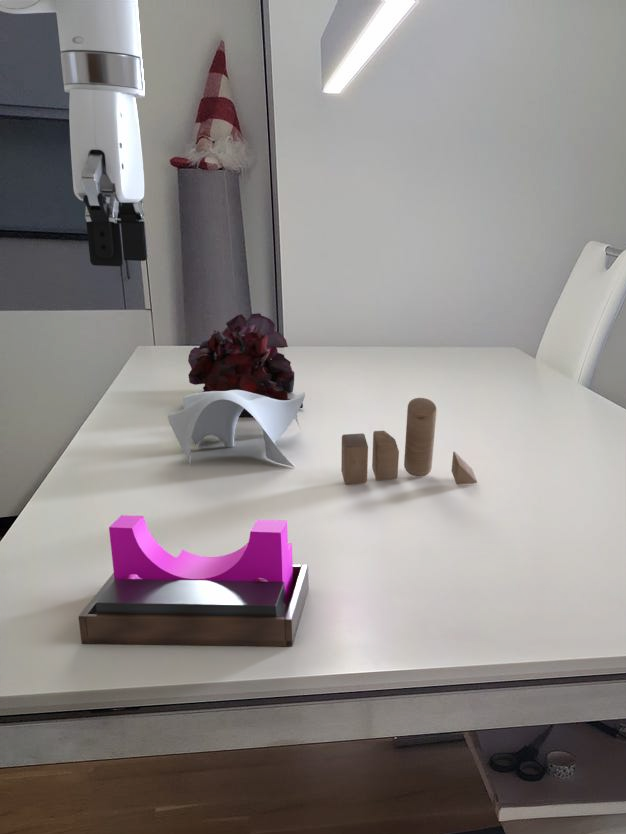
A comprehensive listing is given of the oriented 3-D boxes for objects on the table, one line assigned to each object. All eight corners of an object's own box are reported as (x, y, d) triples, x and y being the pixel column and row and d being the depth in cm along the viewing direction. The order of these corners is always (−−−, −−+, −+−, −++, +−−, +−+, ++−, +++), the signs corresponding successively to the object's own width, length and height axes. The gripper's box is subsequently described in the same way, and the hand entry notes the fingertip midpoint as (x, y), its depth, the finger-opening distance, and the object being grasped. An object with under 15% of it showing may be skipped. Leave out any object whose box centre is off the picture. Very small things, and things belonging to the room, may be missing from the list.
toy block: (293, 587, 100) (290, 512, 97) (283, 611, 94) (280, 532, 91) (136, 583, 99) (129, 507, 96) (117, 606, 94) (108, 527, 91)
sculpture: (188, 429, 166) (183, 367, 163) (307, 430, 169) (305, 369, 165) (164, 466, 144) (158, 395, 140) (302, 467, 146) (300, 397, 142)
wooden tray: (81, 643, 87) (76, 605, 86) (125, 585, 100) (121, 551, 99) (292, 646, 88) (291, 608, 87) (308, 588, 101) (307, 555, 100)
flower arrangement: (306, 418, 178) (303, 328, 172) (187, 418, 174) (181, 326, 168) (295, 387, 206) (292, 308, 200) (192, 386, 202) (187, 306, 196)
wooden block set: (346, 503, 138) (347, 439, 131) (336, 463, 144) (337, 401, 137) (476, 493, 143) (483, 431, 135) (461, 455, 148) (468, 394, 141)
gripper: (90, 84, 109) (106, 257, 116) (34, 65, 93) (57, 266, 100) (162, 88, 110) (174, 259, 116) (119, 69, 94) (136, 269, 100)
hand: (120, 262), depth 108 cm, fingers open, 9 cm apart
